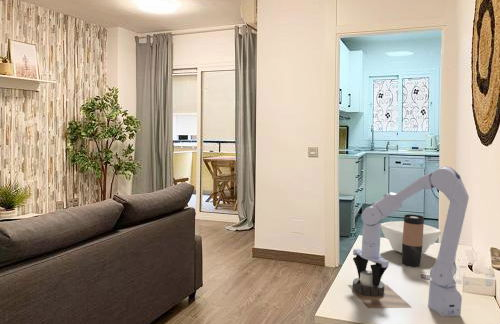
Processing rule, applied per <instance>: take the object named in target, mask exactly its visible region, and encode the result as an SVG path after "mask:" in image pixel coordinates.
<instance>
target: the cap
mask: <svg viewBox="0 0 500 324" xmlns="http://www.w3.org/2000/svg"><path fill="white" fill-rule="evenodd" d="M372 280H373V275H372V270H367V269H366V270H364V271H362V272H360V284H361V285H363V286H368V287H376V286H373V282H372Z"/></svg>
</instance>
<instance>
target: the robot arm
mask: <svg viewBox="0 0 500 324" xmlns="http://www.w3.org/2000/svg"><path fill="white" fill-rule="evenodd" d="M434 188H435V189H436V190H438V191H440V192H441V193H443V195H444V196H445V197H446V198H447V200H448V201H449V205H448V210H447V214H446V219H445V223H444V228H443V232H442V236H441V241H440V246H439V250H438V254H437V257H436V260H435V263H434V264H433V266H432V267H431V268H430V271H429V275H430V278H429V285H428V286H429V288H428V300H427V301H428V303H427V306H428V308H429V309H431V310H433V311H435V312H436V313H437V314H438V315H440V316H441V317H457V316H458V317H461V315H462V302H463V301H462V299H463V298H462V297H463V296H462V295H461V293H460V292H459V291H458V289H457V282H456V280H455V278H454V276H455V274H456V273H457V269H458V268H457V265H456V258H457V251H458V247H459V243H460V238H461V234H462V231H463V230H462V229H463V225H464V222H465V216H466V211H467V208H468V203H469V198H470V197H469V193H468V191H467V189H466V187H465V184H464V183H463V180H462V177H461V175H460V174H459V173H458V172H457V171H456V169H454V168H452V167H451V166H441V167H440V168H437V169H436V170H435V169H434V171H432V172H429V173H427V174H424V175H422V176H420V177H419V178H417V179H416V180H415V181H413V182H411V183H410V184H409V185H407V186H405V187H404V188H403V189H401V190H400V191H398V192H397V193H395V192H389V193H388V192H386V193H384V194H383V197H382V198H380V199H379V200H377V201H373V202H372V203H371V205H370V206H368V207H365V209H364V210H363V211H362V213H361V220H362V221H363V222H362V223H363V226H362V240H361V249H360V248H353V250H352V251H353V252H352V255H353V256H354V257H353V258H352V260H353V262H354V265H355V266H356V267H355V268H356V271H357V276H358V278H359V279H360V272H362V271H364V270H367V266H368V264H369V263H368V262H372V263H373V264H370V270H371V271H372V275H373V280H372V282H373V286H377V285H379V283H380V281H381V279H382V277H383V275H384V273H385V272H386V270H387V269H388V268H389V264H390V262H389V260H387V259H385V258H384V257H383V256H382V255H381V253H380V249H381V234H382V229H381V224H382V220H383V219H385V218H388V217H389V216H391V215H392V214H394V213H395V212H397V211H399V210H400V209H401V208H402V207H403V202H404V201H406V200H408V199H409V198H411V197H412V196H414V195H416V194H417V193H419V192H421V191H423V190H432V189H434Z"/></svg>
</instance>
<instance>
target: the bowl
mask: <svg viewBox="0 0 500 324" xmlns="http://www.w3.org/2000/svg"><path fill="white" fill-rule="evenodd" d="M403 227H404V220H402V221H400V220H399V221H386V222H383V223H382V222H381V232H382V233H383V236H384V237H385V239H387V240H388V242H389V244H390V247H391V249H393V250H395V251H396V252H398V253H401V254H402V240H403ZM440 235H442V231H441V229H438V228H436V227H434V226H430V225H429V224H428V225H427V224H424V227H423V243H422V254H425V253H426V252H427V251H428V249H429V248H430V246H431V245H434V244H435V242H436V241H437V239H438V238H439V237H440ZM422 254H421V255H422Z"/></svg>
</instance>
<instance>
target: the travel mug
mask: <svg viewBox="0 0 500 324" xmlns="http://www.w3.org/2000/svg"><path fill="white" fill-rule="evenodd" d="M403 221H404V227H403V240H402V253H401V264H402V265H403V266H405V267H409V268H419V267H420V266H421V261H422V243H423V227H424V225H425V223H424V222H425V218H424V216H422V215H418V214H404V217H403Z"/></svg>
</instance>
